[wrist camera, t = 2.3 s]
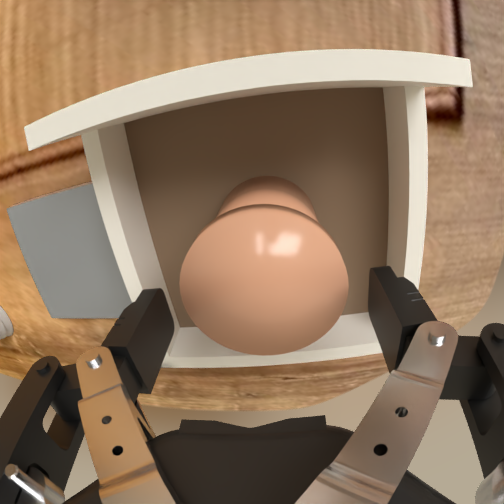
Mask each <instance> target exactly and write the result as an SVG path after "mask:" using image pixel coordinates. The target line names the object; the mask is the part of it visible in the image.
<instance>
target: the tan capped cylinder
mask: <svg viewBox="0 0 504 504" xmlns="http://www.w3.org/2000/svg"><path fill="white" fill-rule="evenodd" d="M179 285H180V294H181V298H182V302H183V305H184V307H185V310H186V311H187V313H188V315H189V317H190V318H191V320H192V321H193V322H194V324H195V325H196V326H197V327H198V328H199V329H200V330H201V331H202V332H203V333H204V334H205V335H207V336H208V337H209V338H210V339H212V340H213V341H215V342H217V343H218V344H220V345H222V346H224V347H226V348H229V349H232V350H234V351H238V352H241V353H246V354H251V355H262V356H265V355H280V354H285V353H290V352H293V351H296V350H299V349H302V348H304V347H306V346H309V345H311V344H312V343H314V342H316V341H317V340H319V339H320V338H321V337H323V336H324V335H325V334H326V333H327V332H328V331H329V330H330V329H331V328H332V327H333V326H334V325H335V323H336V322H337V321H338V319H339V317H340V316H341V314H342V312H343V310H344V307H345V305H346V301H347V297H348V289H349V283H348V274H347V270H346V266H345V264H344V261H343V259H342V256H341V254H340V251H339V249H338V246H337V244H336V243H335V241H334V239H333V238H332V236H331V235H330V234H329V233H328V231H327V230H326V229H325V228H324V227H323V226H322V225H321V224H319V221H318V218H317V216H316V213H315V210H314V207H313V205H312V203H311V200H310V199H309V197H308V196H307V195H306V193H305V192H304V191H303V190H302V189H301V188H300V187H299V186H297V185H296V184H294V183H293V182H291V181H289V180H286V179H283V178H280V177H275V176H259V177H254V178H251V179H248V180H246V181H244V182H242V183H240V184H239V185H237V186H236V187H235V188H234V189H233V190H232V191H231V192H230V193H229V194H228V195H227V197H226V198H225V200H224V202H223V204H222V206H221V208H220V211H219V213H218V215H217V217H216V218H215V219H214V220H212V221H211V222H210V223H209V224H207V225H206V226H205V227H204V228H203V229H202V231H201V232H200V233H199V234H198V235H197V237H196V239H195V240H194V242H193V243H192V245H191V247H190V249H189V251H188V253H187V255H186V257H185V259H184V262H183V264H182V268H181V272H180V282H179Z"/></svg>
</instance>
